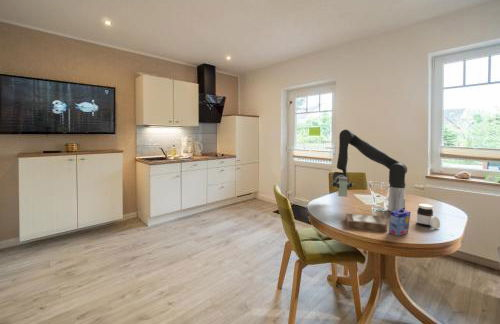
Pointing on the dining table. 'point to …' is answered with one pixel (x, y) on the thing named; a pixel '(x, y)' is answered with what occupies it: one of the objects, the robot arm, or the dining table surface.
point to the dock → (366, 222)
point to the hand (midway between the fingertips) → (343, 186)
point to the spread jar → (427, 216)
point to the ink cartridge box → (399, 222)
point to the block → (342, 186)
